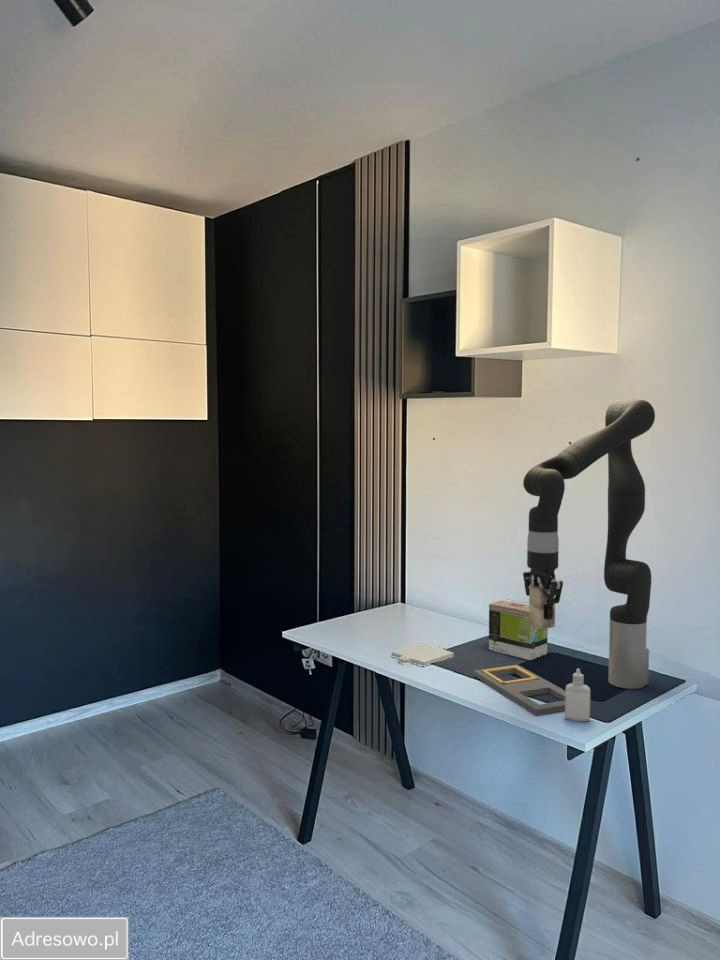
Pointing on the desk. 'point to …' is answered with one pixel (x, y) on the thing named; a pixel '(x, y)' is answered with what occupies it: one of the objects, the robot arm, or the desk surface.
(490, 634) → the tea box
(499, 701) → the desk surface
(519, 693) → the dock
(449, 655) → the mounting plate
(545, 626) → the plug
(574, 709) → the eye dropper bottle
